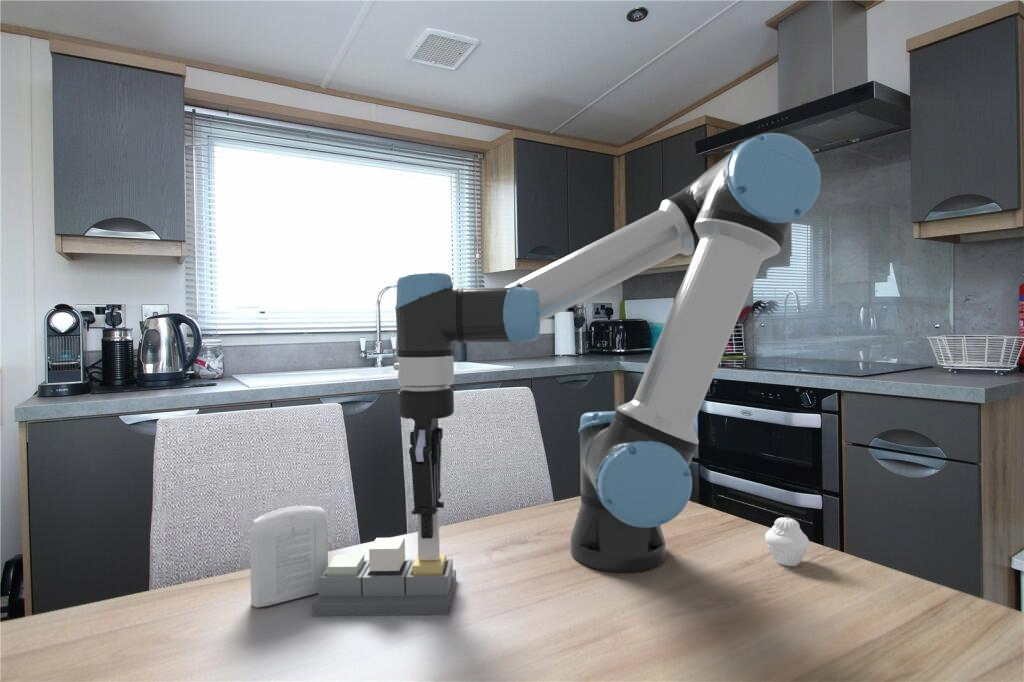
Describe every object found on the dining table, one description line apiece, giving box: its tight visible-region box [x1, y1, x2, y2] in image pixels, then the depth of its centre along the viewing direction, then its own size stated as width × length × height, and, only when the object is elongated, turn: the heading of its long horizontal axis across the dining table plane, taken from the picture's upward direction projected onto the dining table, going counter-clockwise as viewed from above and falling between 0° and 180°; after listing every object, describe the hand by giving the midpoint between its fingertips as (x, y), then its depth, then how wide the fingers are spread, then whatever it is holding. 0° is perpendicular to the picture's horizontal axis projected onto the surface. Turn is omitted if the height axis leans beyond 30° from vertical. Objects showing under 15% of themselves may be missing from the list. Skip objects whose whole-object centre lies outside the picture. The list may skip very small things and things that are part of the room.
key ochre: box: [413, 552, 447, 575], centre depth 79 cm, size 4×4×3 cm
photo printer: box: [249, 505, 329, 608], centre depth 80 cm, size 10×4×12 cm, turn 123°
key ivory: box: [368, 536, 406, 571], centre depth 79 cm, size 4×4×3 cm
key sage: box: [327, 554, 365, 576], centre depth 79 cm, size 4×4×3 cm
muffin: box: [764, 516, 810, 567], centre depth 88 cm, size 6×6×7 cm
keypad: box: [311, 558, 457, 617], centre depth 79 cm, size 18×10×4 cm, turn 89°
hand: (429, 557), depth 79 cm, fingers closed
